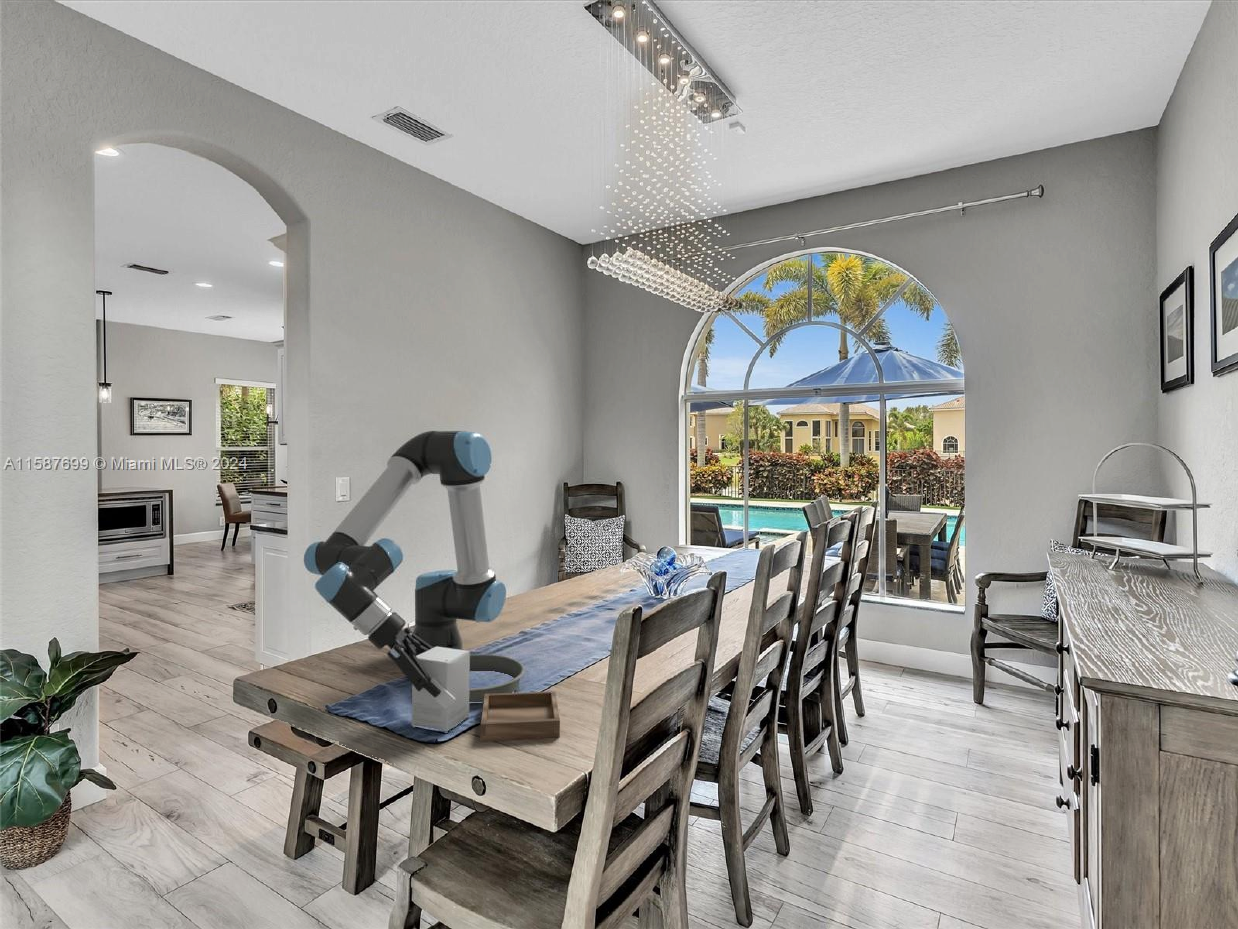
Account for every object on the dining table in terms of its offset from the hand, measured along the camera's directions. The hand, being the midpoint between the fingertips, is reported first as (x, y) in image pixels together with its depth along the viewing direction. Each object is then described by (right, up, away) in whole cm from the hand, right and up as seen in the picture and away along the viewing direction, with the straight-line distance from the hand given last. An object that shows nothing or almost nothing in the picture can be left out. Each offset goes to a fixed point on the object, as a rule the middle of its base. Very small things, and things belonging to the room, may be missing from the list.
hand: (453, 692), depth 137 cm
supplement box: (-3, -7, 0) cm, 7 cm away
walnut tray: (+14, -7, +1) cm, 16 cm away
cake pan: (0, -6, +21) cm, 22 cm away
